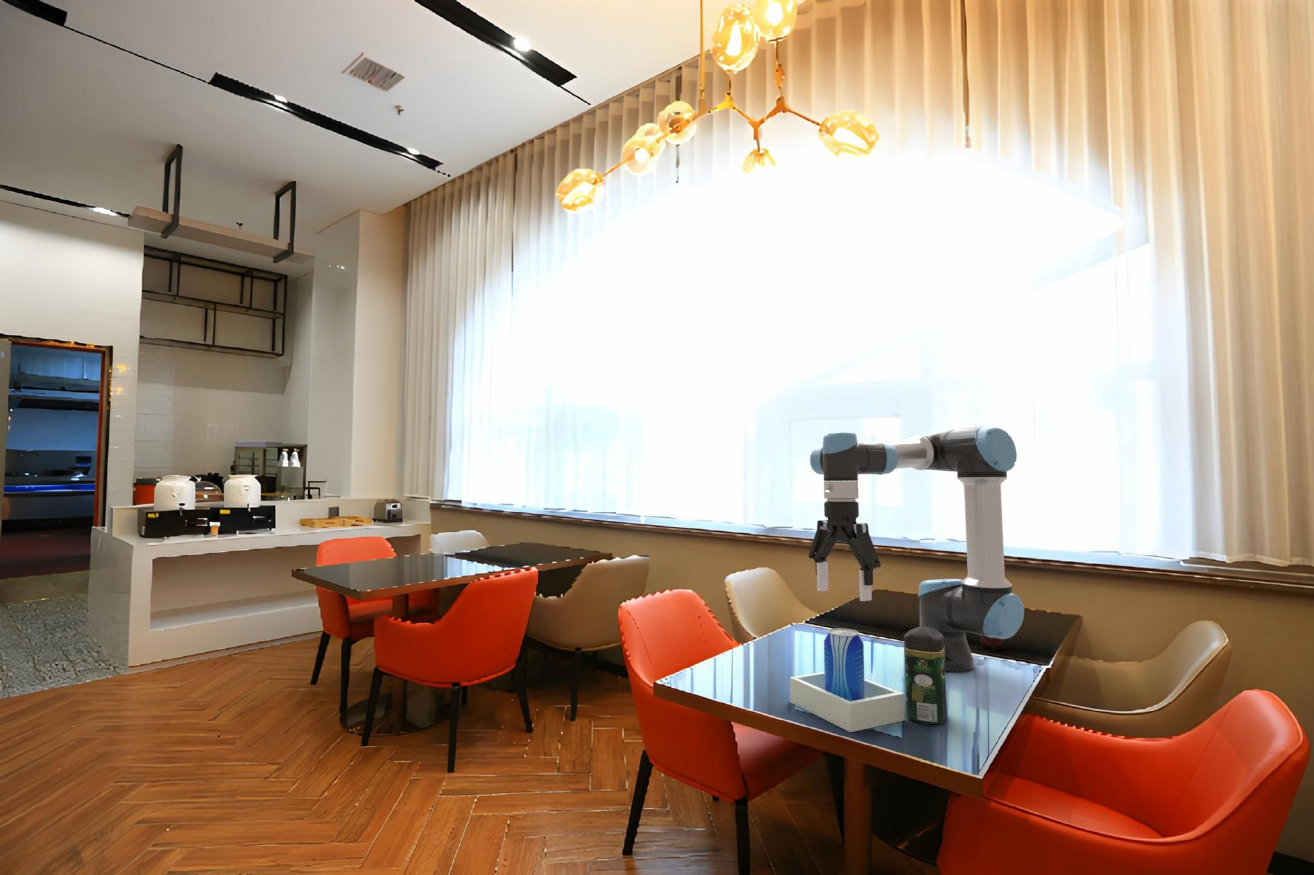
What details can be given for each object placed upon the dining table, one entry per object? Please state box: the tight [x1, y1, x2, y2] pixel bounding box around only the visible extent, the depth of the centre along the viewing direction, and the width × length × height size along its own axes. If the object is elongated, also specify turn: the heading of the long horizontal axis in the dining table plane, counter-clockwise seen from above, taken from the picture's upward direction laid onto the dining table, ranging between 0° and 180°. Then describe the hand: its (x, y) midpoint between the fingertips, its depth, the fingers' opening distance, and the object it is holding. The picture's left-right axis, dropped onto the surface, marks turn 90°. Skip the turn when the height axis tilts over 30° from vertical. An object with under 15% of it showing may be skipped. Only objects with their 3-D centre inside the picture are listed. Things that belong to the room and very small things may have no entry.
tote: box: [789, 671, 906, 733], centre depth 139 cm, size 15×19×6 cm
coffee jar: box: [903, 626, 948, 725], centre depth 135 cm, size 10×8×19 cm
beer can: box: [823, 627, 865, 701], centre depth 139 cm, size 8×8×16 cm
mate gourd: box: [979, 634, 1006, 652], centre depth 192 cm, size 8×8×15 cm
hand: (843, 595), depth 142 cm, fingers open, 13 cm apart
